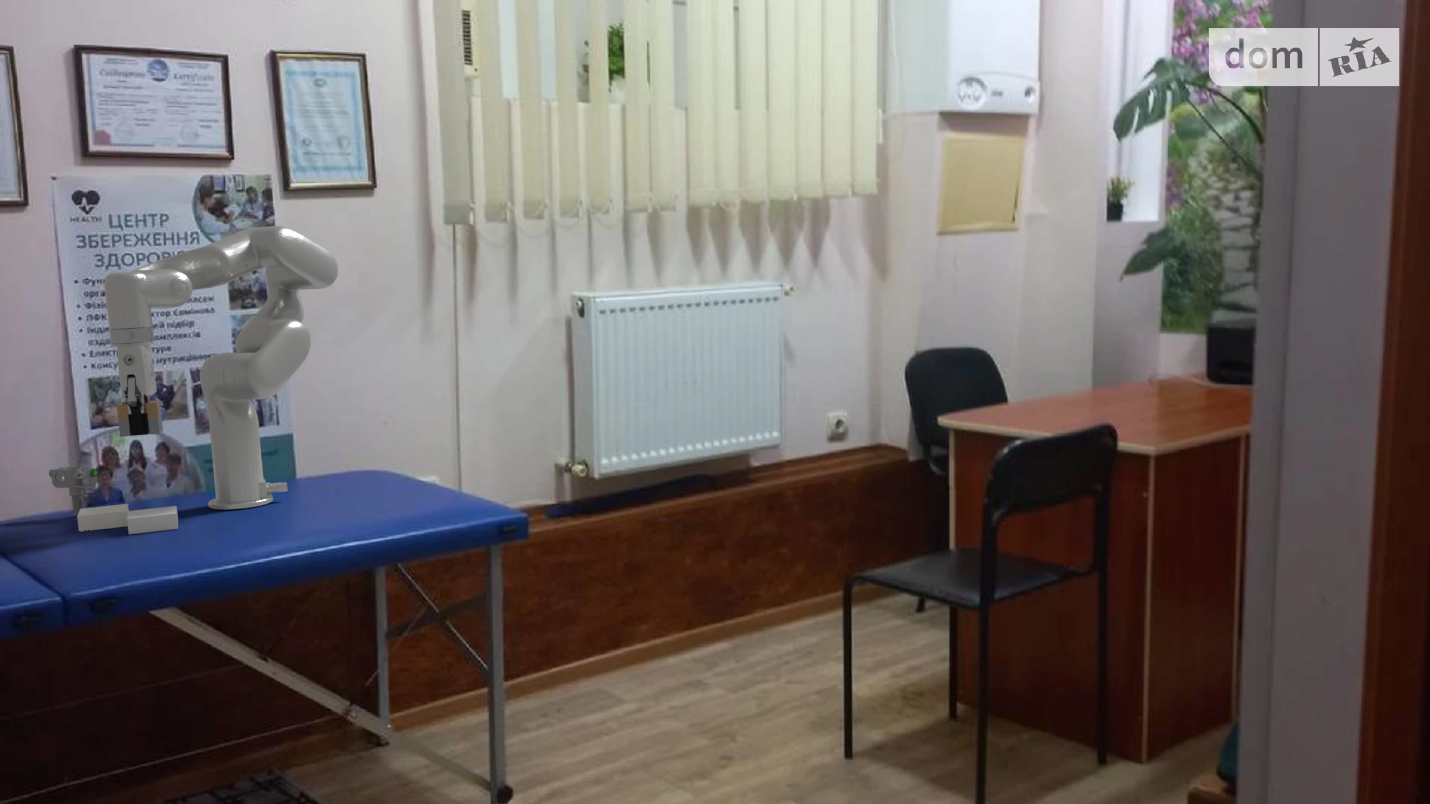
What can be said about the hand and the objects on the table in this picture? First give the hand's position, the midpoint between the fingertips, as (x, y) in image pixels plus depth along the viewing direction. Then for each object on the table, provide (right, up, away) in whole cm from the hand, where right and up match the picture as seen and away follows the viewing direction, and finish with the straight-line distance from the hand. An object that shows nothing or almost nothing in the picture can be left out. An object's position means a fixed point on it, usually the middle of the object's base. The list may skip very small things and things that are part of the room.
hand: (141, 432), depth 245 cm
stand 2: (+2, -18, +2) cm, 19 cm away
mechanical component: (-20, -18, +17) cm, 32 cm away
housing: (0, 0, 0) cm, 0 cm away
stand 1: (-10, -18, +7) cm, 22 cm away
